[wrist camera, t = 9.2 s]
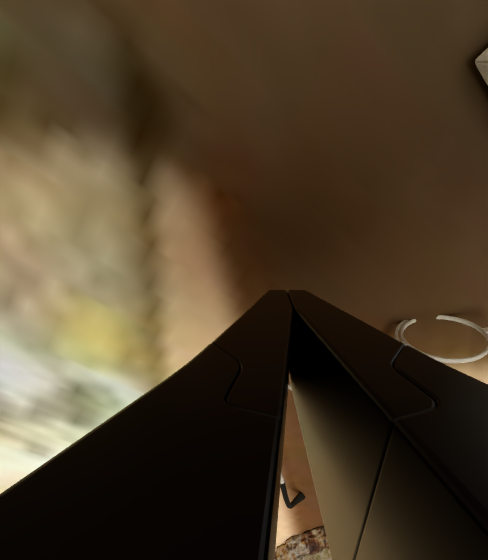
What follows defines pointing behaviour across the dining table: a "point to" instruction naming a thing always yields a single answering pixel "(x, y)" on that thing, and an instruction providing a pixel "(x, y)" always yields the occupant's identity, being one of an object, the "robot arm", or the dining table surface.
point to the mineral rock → (305, 547)
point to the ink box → (483, 65)
